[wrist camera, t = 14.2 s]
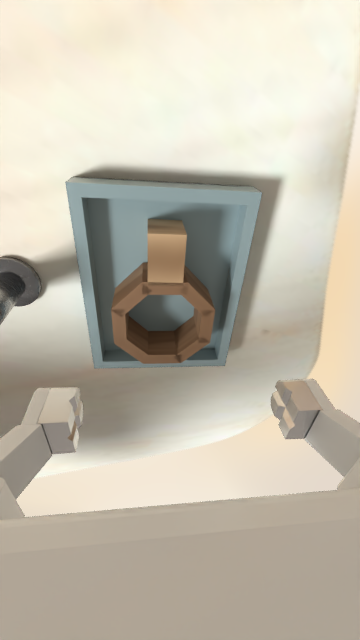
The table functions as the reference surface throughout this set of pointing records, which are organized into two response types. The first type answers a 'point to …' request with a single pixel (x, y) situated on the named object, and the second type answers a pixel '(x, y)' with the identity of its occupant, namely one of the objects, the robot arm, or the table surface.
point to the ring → (163, 279)
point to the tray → (132, 250)
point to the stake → (16, 285)
